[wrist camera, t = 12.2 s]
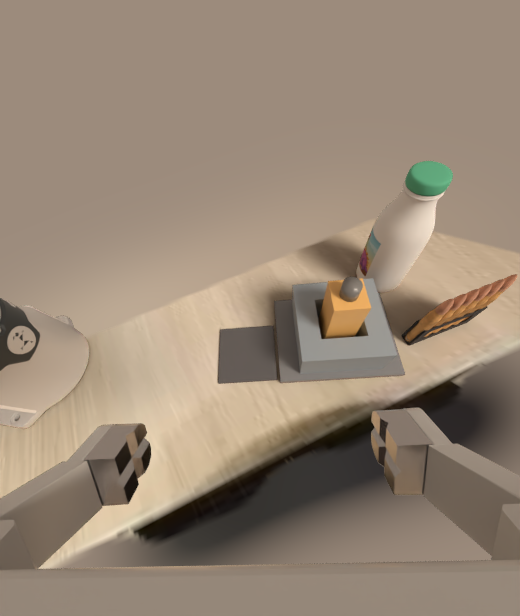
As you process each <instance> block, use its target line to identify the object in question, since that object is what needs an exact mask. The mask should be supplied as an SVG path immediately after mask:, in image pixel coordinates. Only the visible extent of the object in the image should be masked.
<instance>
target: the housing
mask: <svg viewBox="0 0 520 616" xmlns="http://www.w3.org/2000/svg"><path fill="white" fill-rule="evenodd" d="M363 281H364V284H365V288H366V291H367V295H368V298H369V302H370V305H371V310H370V311H369V313H368V315H367V316H366V318H365V320H364V321H363V323H362V325H361V327H360V328H359V330H358V332H357V333H356V335H355V337H346V338H332V339H321V334H320V328H319V322H318V320H319V316H320V312H321V308H322V304H323V300H324V296H325V292H326V288H327V284H328V282H323V283H311V284H299V285H293V292H292V300H282V301H274V304H275V317H276V330H277V342H278V355H279V368H280V381H281V383H291V382H307V381H324V380H340V379H356V378H373V377H389V376H403V375H405V372H404V369H403V366H402V362H401V359H400V356H399V353H398V350H397V347H396V344H395V340H394V337H393V334H392V331H391V328H390V325H389V322H388V319H387V315H386V312H385V309H384V306H383V303H382V300H381V297H380V294H379V293H378V292H377V289H376V286H375V283H374V279H373V278H371V279H363Z"/></svg>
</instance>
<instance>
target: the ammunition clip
mask: <svg viewBox="0 0 520 616" xmlns="http://www.w3.org/2000/svg"><path fill="white" fill-rule="evenodd" d="M516 278H517V274H515V275H511V276H509V277H507V278H505V279H502V280H498V281H496V282H494V283H492V284H488V285H485V286H483V287H481V288H479V289H475V290H472V291H470V292H468V293H467V294H462V295H460V296H457V297H456V298H454V299H449V300H447V301H445V302H443V303H441V304H440V305H439V306H438V307H436V308H435V309H434V310H432V311H430V312H429V313H428V314H427V315H426V316H425V317H424V318H422V319H421V320H418V321H416V322H415V323H414V324H413V325H412V326H411V327H410V328H409V329H408V330H407V331H406V332H405V333H404V334H403V335H402V337H403V338H404V340H405V341H406V343H407V344H408V345H412V344H414V343H417V342H419V341H422V340H424V339H427V338H429V337H432V336H434V335H437V334H439V333H442V332H444V331H447V330H449V329H452V328H454V327H457V326H459V325H462V324H464V323H467V322H468V321H470V320H471V319H472V318H474V317H475V316H477V315H478V314H479V313H481V312H482V311H483V310H485V309H486V308H487V305H489V304H490V303H491V302H493V301H494V300H496V299H497V298H498V297H499V295H500V294H501V293H503V292H504V291H505V290H506V289H507V288H509V287H510V286H511V285H512V284H513V282H514V281H515V280H516Z"/></svg>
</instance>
